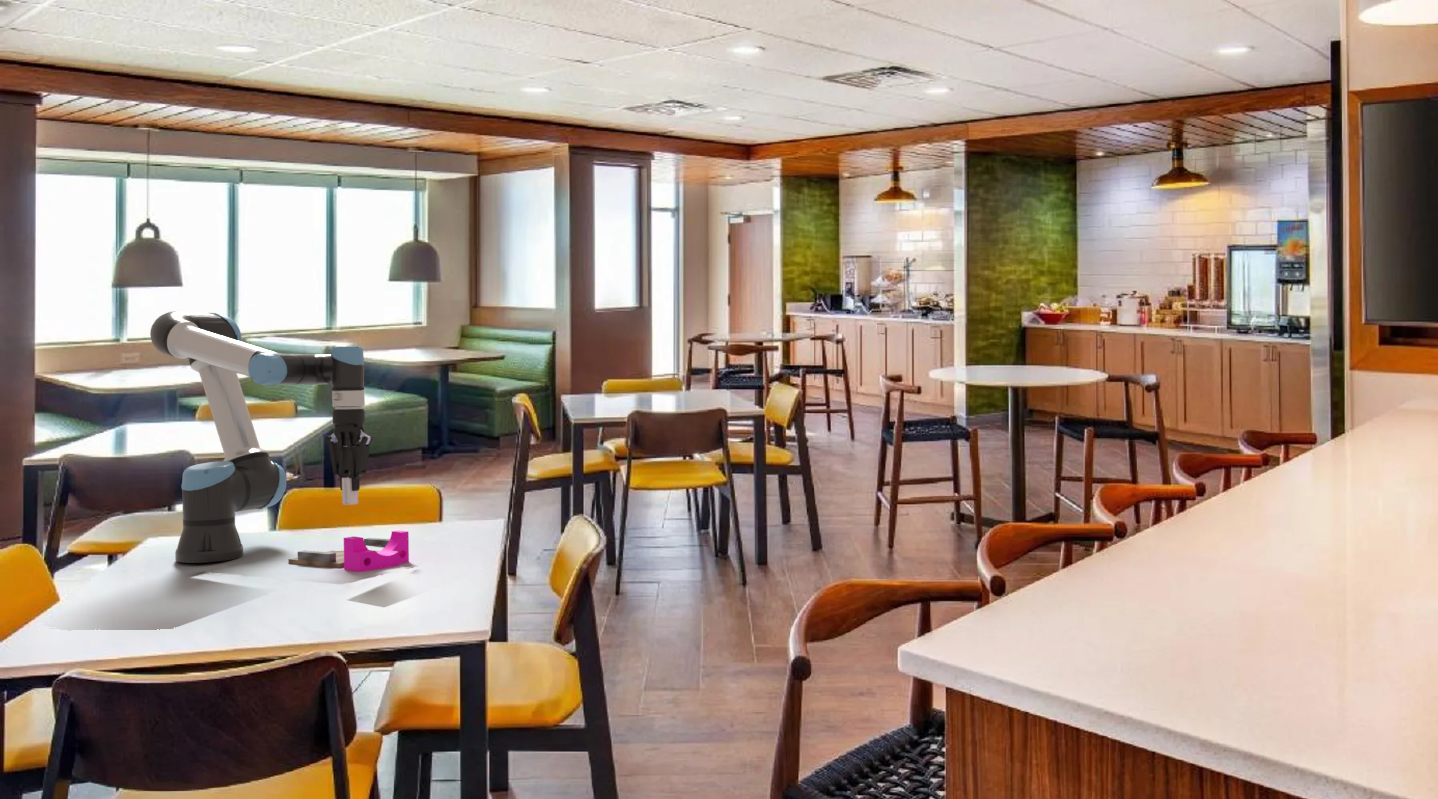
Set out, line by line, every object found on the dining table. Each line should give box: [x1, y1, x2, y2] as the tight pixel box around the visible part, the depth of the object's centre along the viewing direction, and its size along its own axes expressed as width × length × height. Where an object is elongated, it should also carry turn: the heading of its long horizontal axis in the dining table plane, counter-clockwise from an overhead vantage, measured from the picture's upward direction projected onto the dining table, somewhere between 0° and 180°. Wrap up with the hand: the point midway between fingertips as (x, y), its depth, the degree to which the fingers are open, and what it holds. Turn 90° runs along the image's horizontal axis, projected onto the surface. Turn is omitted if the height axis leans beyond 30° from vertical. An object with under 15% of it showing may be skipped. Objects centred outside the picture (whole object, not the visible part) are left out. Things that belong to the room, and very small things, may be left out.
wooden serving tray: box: [288, 537, 390, 569], centre depth 262 cm, size 16×24×3 cm, turn 156°
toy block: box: [343, 529, 410, 573], centre depth 250 cm, size 15×6×8 cm, turn 142°
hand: (350, 503), depth 262 cm, fingers closed
